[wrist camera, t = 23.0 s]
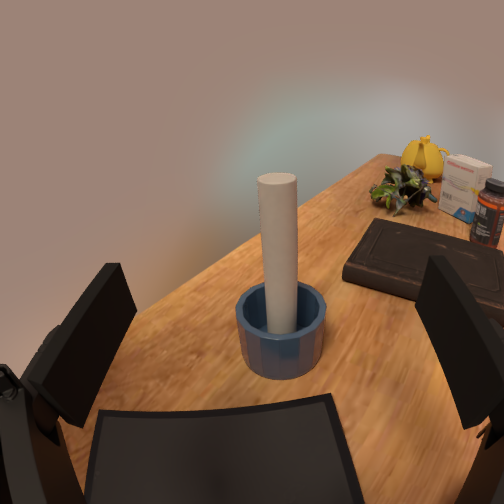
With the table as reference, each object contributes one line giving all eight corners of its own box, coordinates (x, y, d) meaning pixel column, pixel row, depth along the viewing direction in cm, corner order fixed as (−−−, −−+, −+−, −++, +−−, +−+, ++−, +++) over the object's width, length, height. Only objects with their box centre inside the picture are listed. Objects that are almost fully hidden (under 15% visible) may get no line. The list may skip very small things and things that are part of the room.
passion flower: (407, 230, 57) (446, 194, 49) (390, 240, 50) (436, 198, 41) (374, 190, 60) (409, 152, 52) (352, 193, 53) (392, 148, 45)
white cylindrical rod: (270, 357, 26) (259, 185, 18) (266, 337, 28) (255, 174, 20) (298, 353, 26) (300, 181, 18) (292, 333, 29) (291, 170, 20)
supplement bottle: (497, 241, 40) (511, 183, 34) (495, 255, 37) (512, 191, 31) (470, 231, 44) (482, 173, 38) (466, 243, 40) (480, 180, 35)
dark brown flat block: (373, 229, 47) (374, 217, 45) (498, 263, 35) (502, 250, 33) (340, 282, 36) (342, 266, 35) (508, 330, 24) (515, 315, 23)
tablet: (85, 552, 9) (78, 550, 9) (102, 413, 21) (98, 408, 21) (373, 546, 10) (377, 546, 10) (329, 397, 22) (331, 391, 22)
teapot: (446, 193, 60) (452, 148, 54) (392, 180, 69) (395, 137, 63) (449, 175, 73) (453, 139, 67) (406, 165, 82) (408, 130, 76)
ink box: (484, 217, 49) (494, 165, 43) (468, 224, 46) (478, 167, 40) (455, 202, 56) (462, 153, 50) (436, 208, 53) (443, 154, 47)
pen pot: (245, 385, 24) (238, 345, 21) (239, 326, 31) (233, 284, 28) (330, 371, 25) (337, 330, 22) (310, 316, 31) (312, 274, 28)
